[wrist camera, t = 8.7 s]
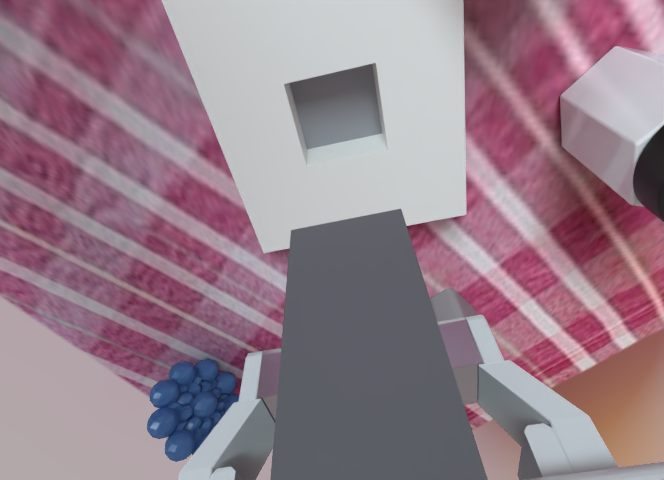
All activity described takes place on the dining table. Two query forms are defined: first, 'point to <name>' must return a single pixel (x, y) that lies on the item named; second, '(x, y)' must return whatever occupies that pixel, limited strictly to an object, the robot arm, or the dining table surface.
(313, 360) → the gray rectangular block
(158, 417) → the grapes
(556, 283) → the dining table surface
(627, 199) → the jar
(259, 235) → the outlet block
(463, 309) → the power adapter
